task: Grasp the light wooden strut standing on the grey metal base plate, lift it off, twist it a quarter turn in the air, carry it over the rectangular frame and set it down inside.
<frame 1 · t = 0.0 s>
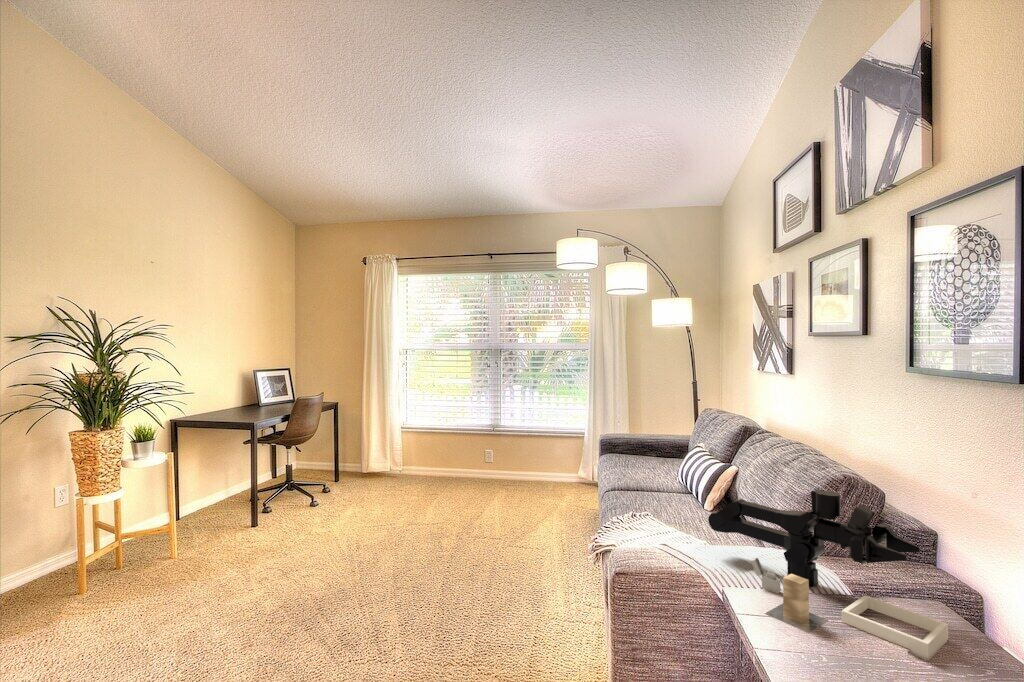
hand: (913, 553, 116), 17 cm above the table, tool horizontal, fingers open, 9 cm apart
base plate: (796, 621, 116), on the table
lighter: (765, 592, 131), on the table
strut: (796, 616, 116), point 1 cm above the table, touching base plate
rectangular frame: (893, 632, 111), on the table
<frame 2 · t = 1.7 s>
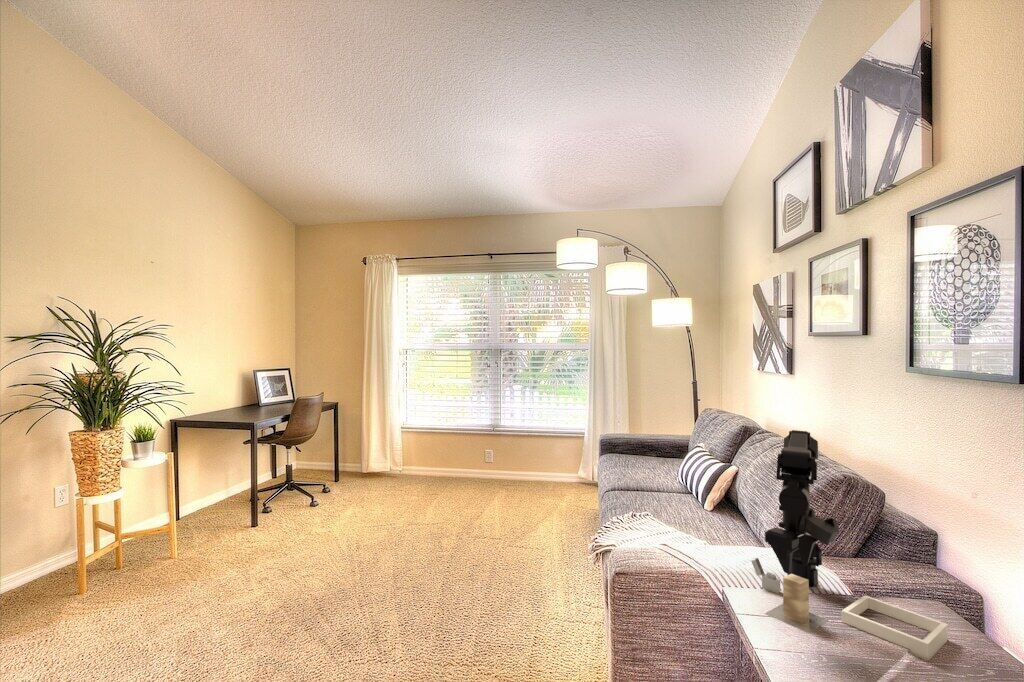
hand: (796, 568, 116), 12 cm above the table, tool pointing down, fingers open, 9 cm apart
nothing on the table moved.
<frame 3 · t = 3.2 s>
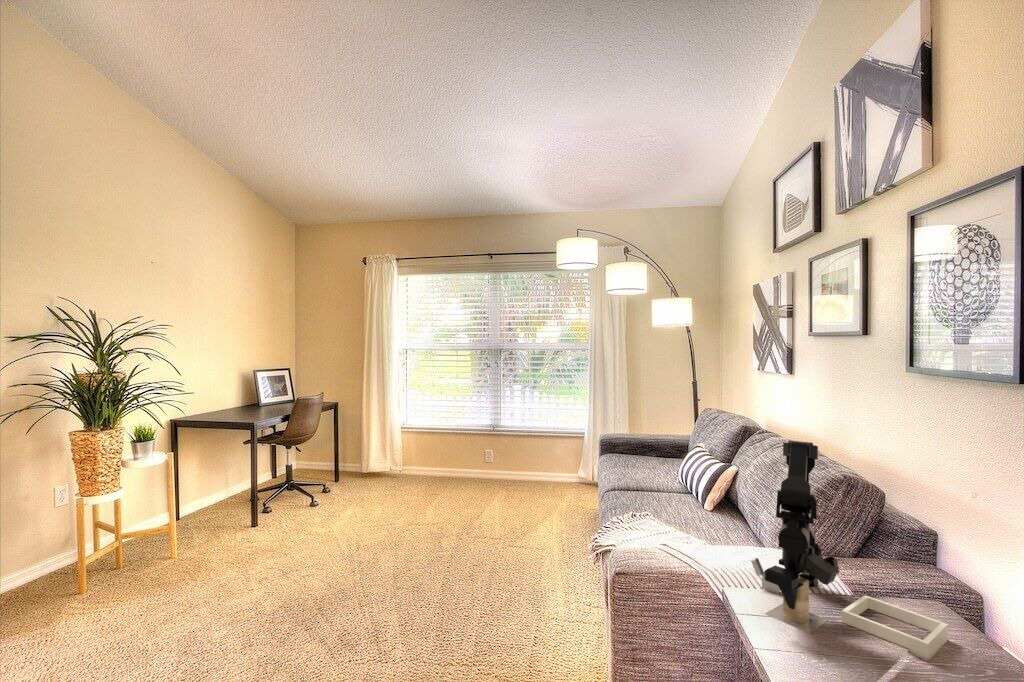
hand: (796, 606, 116), 4 cm above the table, tool pointing down, fingers closed on strut, 4 cm apart
strut: (796, 616, 116), point 1 cm above the table, touching base plate, gripper
everything else where it was.
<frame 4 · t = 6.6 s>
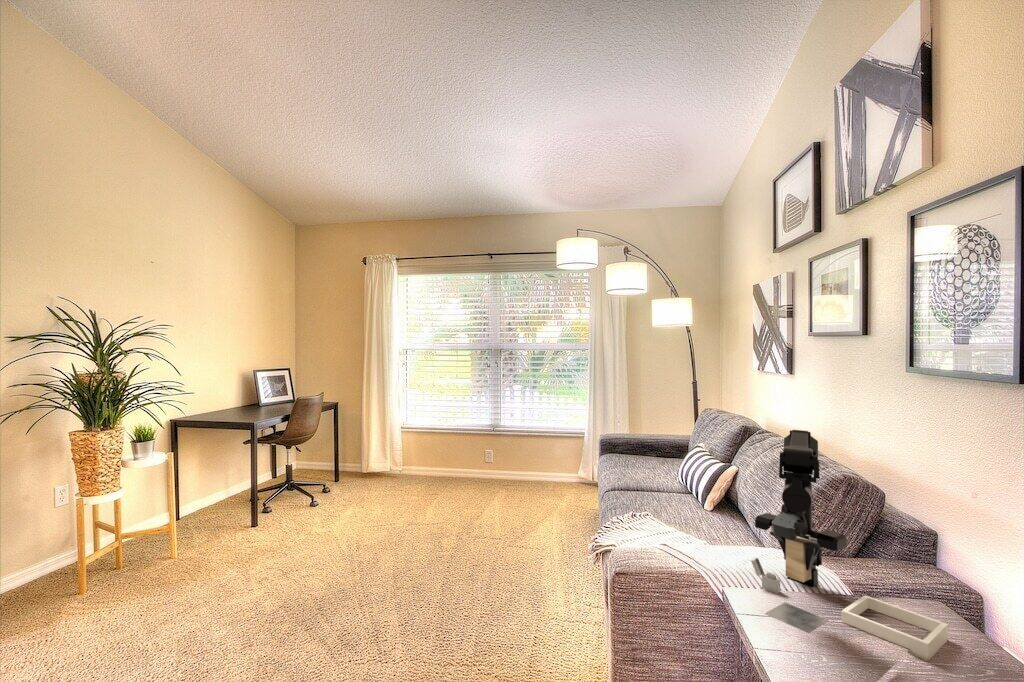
hand: (798, 566, 116), 13 cm above the table, tool pointing down, fingers closed on strut, 4 cm apart
strut: (798, 577, 116), point 10 cm above the table, touching gripper
everything else where it was.
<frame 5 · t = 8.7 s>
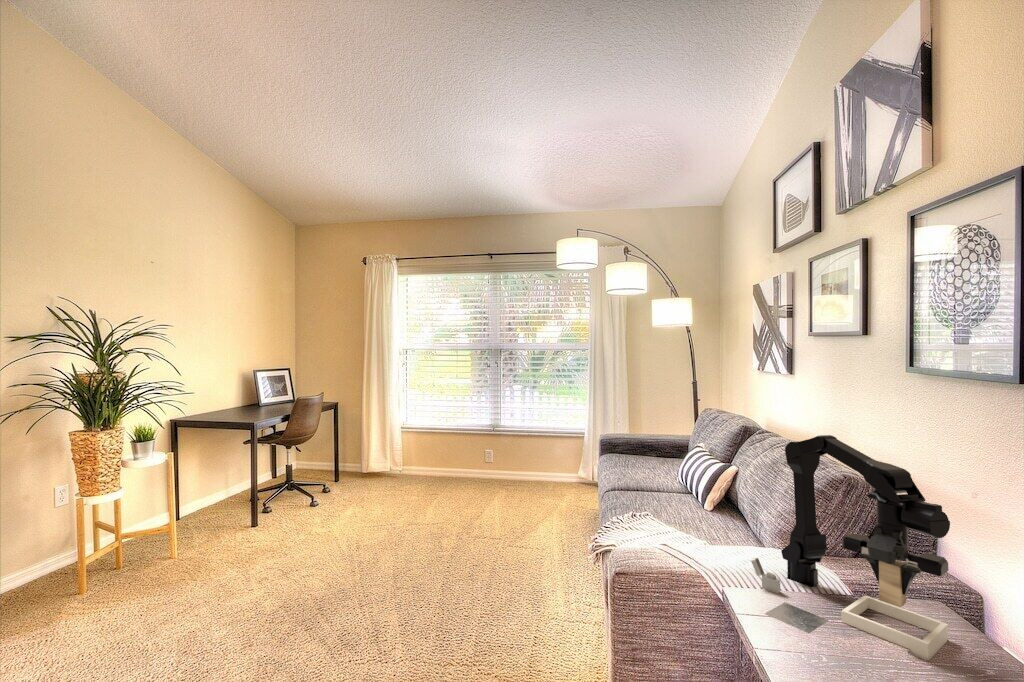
hand: (892, 590, 112), 10 cm above the table, tool pointing down, fingers closed on strut, 4 cm apart
strut: (892, 601, 112), point 7 cm above the table, touching gripper
everything else where it was.
when the fingers open (5 cm above the table, at t = 10.2 s): strut drops 1 cm, resting on rectangular frame.
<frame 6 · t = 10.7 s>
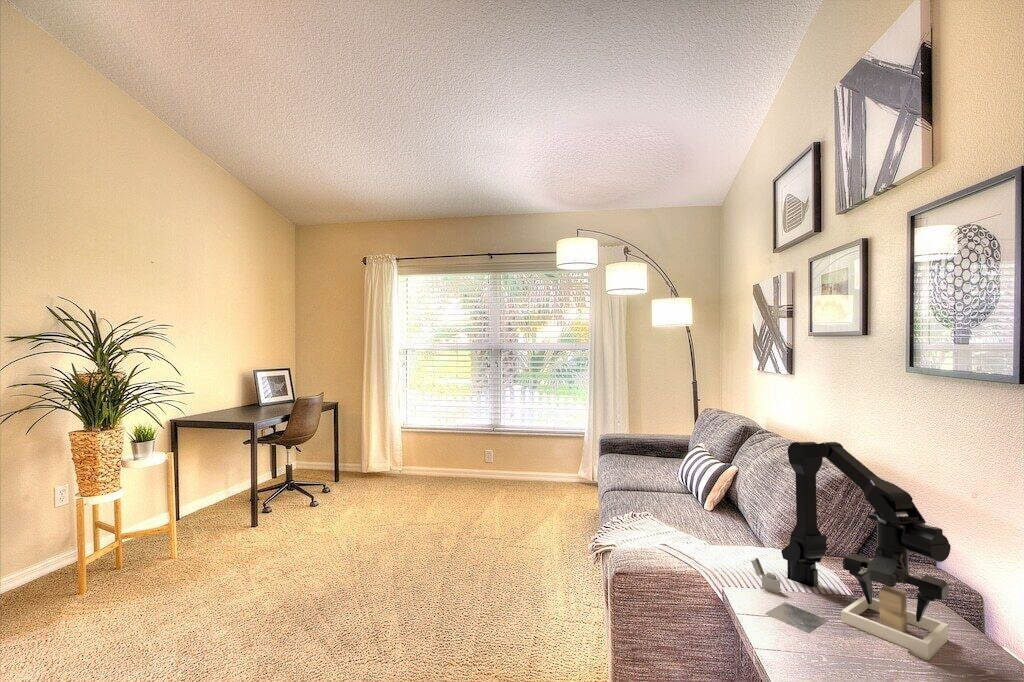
hand: (893, 612, 112), 5 cm above the table, tool pointing down, fingers open, 9 cm apart
strut: (893, 630, 111), point 1 cm above the table, touching rectangular frame
everything else where it was.
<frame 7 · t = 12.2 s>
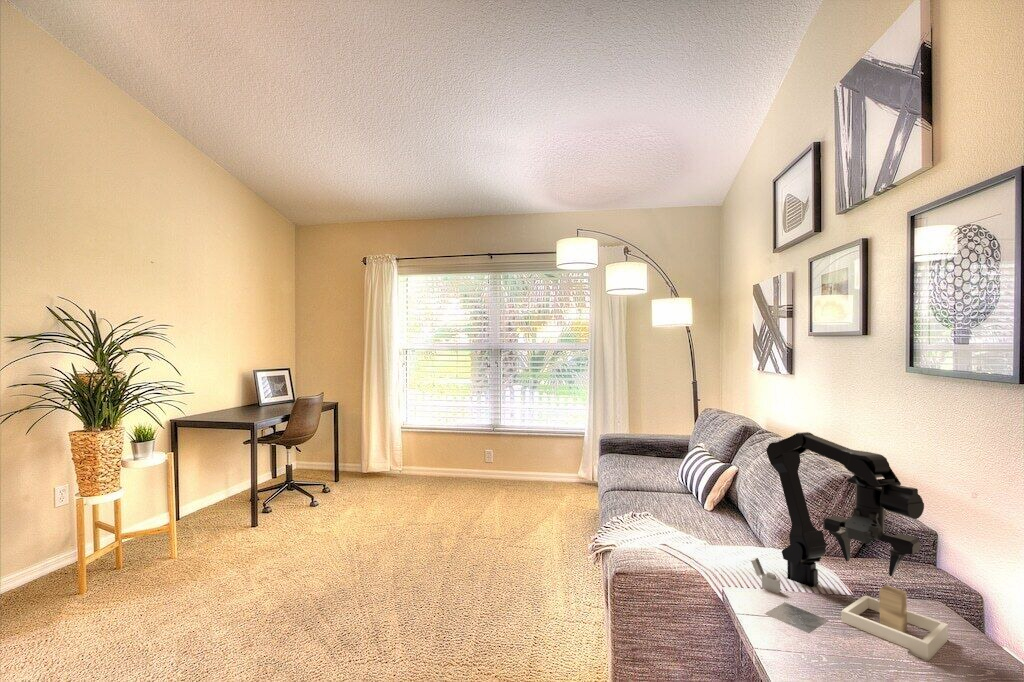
hand: (868, 568, 119), 12 cm above the table, tool pointing down, fingers open, 9 cm apart
nothing on the table moved.
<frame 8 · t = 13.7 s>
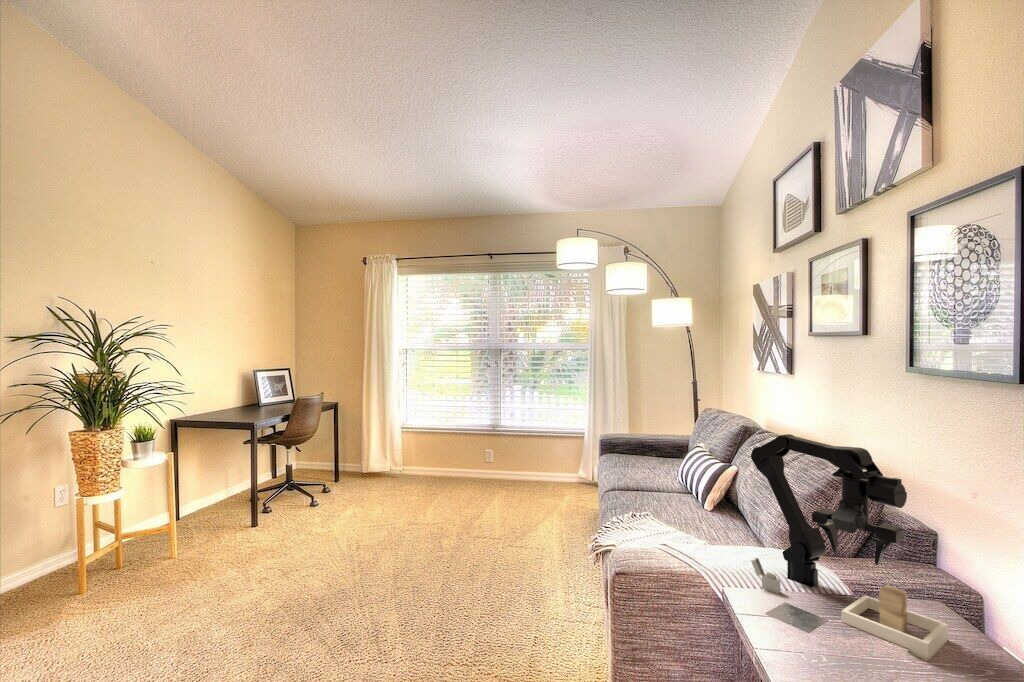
hand: (855, 558, 124), 12 cm above the table, tool pointing down, fingers open, 9 cm apart
nothing on the table moved.
at the end: strut inside the target area on the rectangular frame (0.0 cm from its centre), point 0.6 cm above the rectangular frame's base; the gripper is holding nothing; strut tilted 0° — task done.
